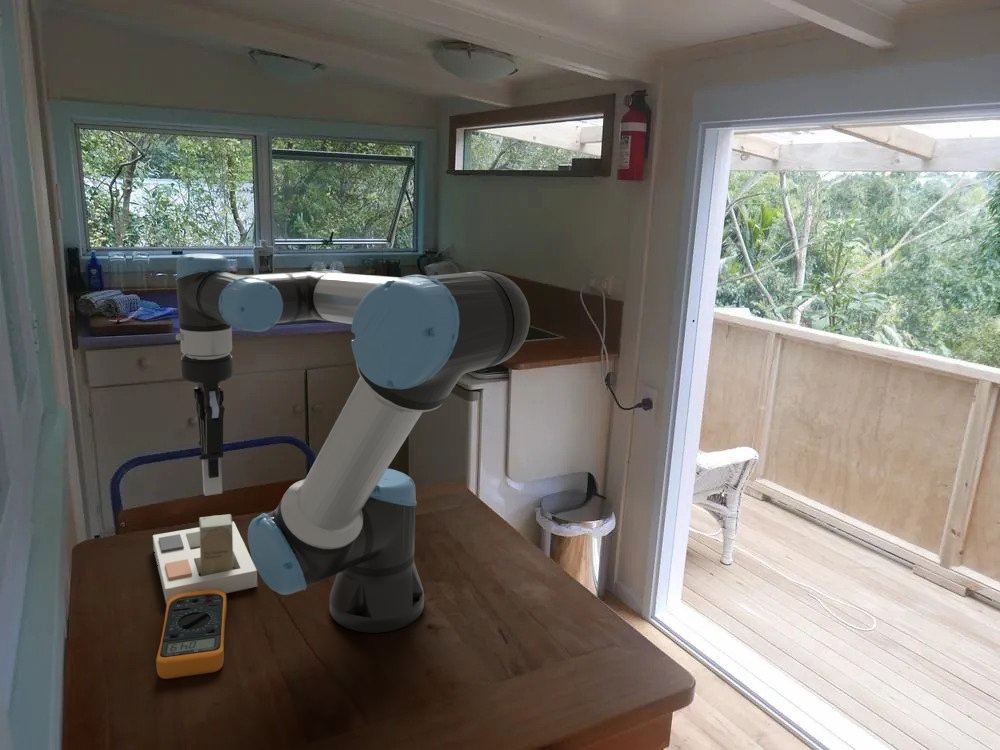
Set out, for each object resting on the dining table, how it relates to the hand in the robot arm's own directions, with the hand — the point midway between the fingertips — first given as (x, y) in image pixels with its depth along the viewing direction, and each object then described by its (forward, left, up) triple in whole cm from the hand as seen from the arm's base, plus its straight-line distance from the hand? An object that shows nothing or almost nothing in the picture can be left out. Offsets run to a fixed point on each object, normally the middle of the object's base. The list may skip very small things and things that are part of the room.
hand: (213, 492), depth 122 cm
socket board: (+5, +1, -16) cm, 17 cm away
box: (0, 0, -16) cm, 16 cm away
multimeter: (-16, +6, -17) cm, 24 cm away
